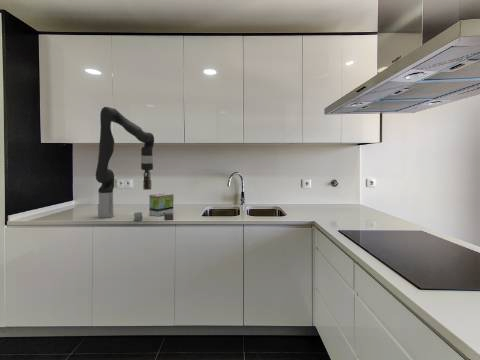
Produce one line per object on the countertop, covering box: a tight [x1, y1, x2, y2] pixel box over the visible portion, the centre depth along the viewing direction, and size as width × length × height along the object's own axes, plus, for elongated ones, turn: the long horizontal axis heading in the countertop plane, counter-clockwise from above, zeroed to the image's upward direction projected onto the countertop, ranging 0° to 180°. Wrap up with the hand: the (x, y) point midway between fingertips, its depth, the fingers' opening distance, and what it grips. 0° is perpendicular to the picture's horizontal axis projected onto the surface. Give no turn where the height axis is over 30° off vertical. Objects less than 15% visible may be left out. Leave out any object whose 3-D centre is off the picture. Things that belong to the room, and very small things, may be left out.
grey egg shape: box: [133, 211, 143, 222], centre depth 200 cm, size 5×5×5 cm
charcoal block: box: [163, 213, 174, 221], centre depth 203 cm, size 5×5×4 cm
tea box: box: [148, 192, 174, 217], centre depth 221 cm, size 15×10×15 cm, turn 149°
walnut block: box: [142, 179, 152, 191], centre depth 201 cm, size 4×4×6 cm
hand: (147, 188), depth 201 cm, fingers closed on walnut block, 4 cm apart
